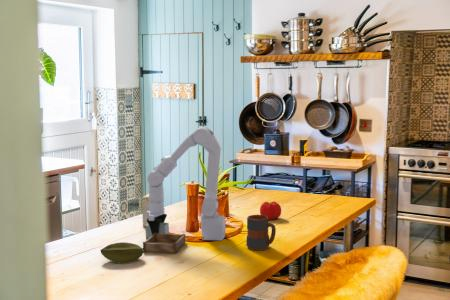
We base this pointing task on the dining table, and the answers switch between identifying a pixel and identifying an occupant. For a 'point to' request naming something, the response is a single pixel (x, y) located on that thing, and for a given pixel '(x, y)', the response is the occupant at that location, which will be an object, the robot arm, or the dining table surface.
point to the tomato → (270, 210)
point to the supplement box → (145, 209)
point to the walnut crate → (164, 243)
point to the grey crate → (162, 229)
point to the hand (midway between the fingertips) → (157, 234)
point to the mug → (259, 232)
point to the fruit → (122, 252)
